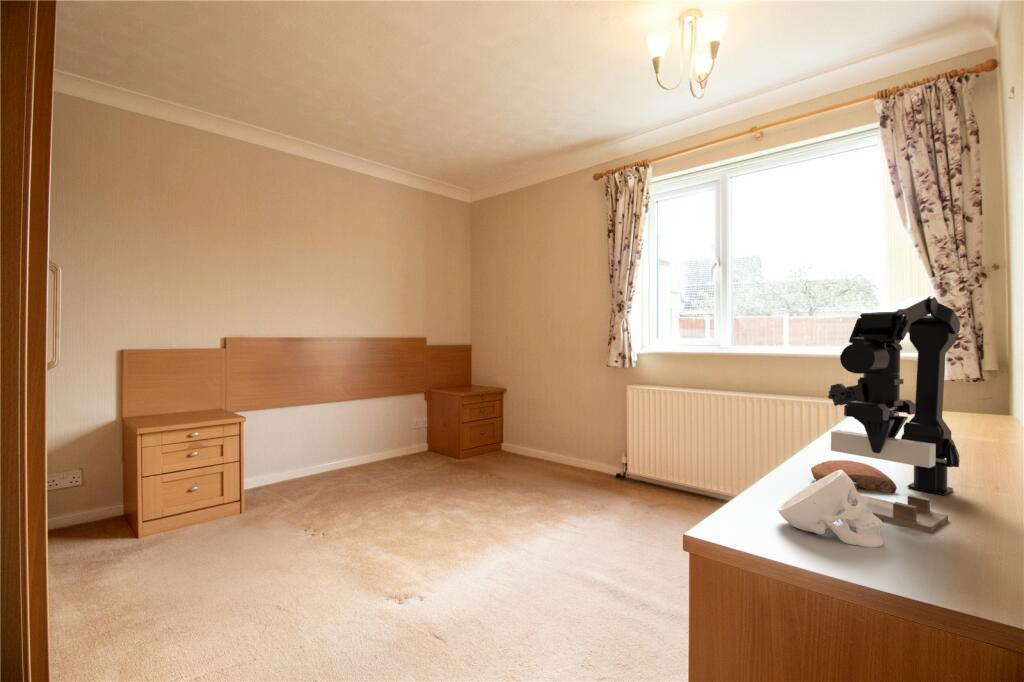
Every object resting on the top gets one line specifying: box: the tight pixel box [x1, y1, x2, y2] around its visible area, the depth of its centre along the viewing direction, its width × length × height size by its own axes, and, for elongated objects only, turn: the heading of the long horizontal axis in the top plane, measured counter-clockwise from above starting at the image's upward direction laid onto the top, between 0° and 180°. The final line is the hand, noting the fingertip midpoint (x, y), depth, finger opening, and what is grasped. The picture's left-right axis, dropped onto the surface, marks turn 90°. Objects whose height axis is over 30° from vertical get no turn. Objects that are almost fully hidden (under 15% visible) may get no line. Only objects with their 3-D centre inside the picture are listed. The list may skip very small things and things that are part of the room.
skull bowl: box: [777, 470, 885, 548], centre depth 83 cm, size 10×14×12 cm
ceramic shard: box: [810, 459, 898, 493], centre depth 113 cm, size 15×6×15 cm
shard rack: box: [853, 482, 949, 534], centre depth 94 cm, size 10×20×4 cm, turn 34°
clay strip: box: [830, 429, 936, 468], centre depth 94 cm, size 4×16×4 cm, turn 34°
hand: (880, 451), depth 94 cm, fingers closed on clay strip, 3 cm apart
